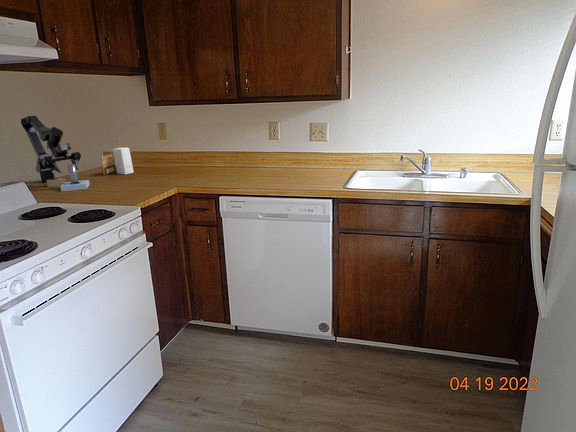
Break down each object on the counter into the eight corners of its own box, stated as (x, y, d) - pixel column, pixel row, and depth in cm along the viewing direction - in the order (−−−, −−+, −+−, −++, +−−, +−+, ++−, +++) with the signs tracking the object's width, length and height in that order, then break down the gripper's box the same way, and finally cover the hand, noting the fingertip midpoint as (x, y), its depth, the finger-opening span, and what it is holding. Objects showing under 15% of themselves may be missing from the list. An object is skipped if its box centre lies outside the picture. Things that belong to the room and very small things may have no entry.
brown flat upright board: (105, 175, 254) (102, 156, 250) (102, 175, 254) (99, 156, 251) (116, 172, 264) (113, 153, 260) (114, 172, 264) (111, 153, 261)
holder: (61, 191, 217) (60, 186, 216) (65, 186, 228) (64, 182, 227) (86, 188, 220) (85, 184, 220) (89, 184, 231) (88, 179, 231)
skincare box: (134, 172, 259) (130, 147, 255) (125, 174, 254) (120, 149, 249) (125, 172, 264) (121, 147, 259) (116, 174, 258) (111, 148, 254)
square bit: (67, 185, 232) (65, 178, 231) (62, 187, 229) (61, 180, 228) (52, 185, 234) (51, 178, 233) (47, 187, 230) (46, 180, 229)
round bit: (70, 188, 223) (66, 165, 219) (74, 187, 226) (70, 164, 222) (77, 188, 222) (72, 165, 219) (80, 186, 226) (76, 163, 222)
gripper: (40, 141, 215) (53, 164, 212) (76, 136, 229) (89, 158, 226) (36, 155, 222) (50, 178, 219) (72, 150, 236) (85, 171, 233)
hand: (69, 171), depth 224 cm, fingers open, 9 cm apart
